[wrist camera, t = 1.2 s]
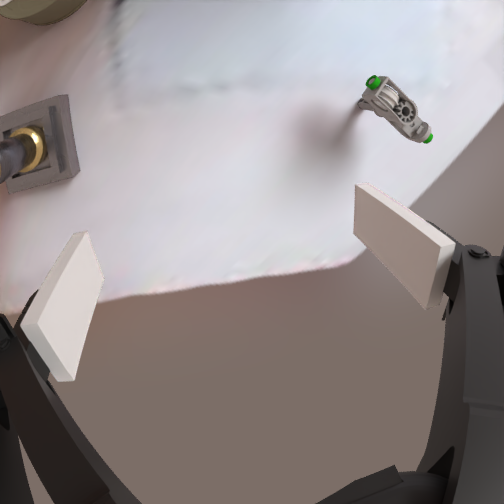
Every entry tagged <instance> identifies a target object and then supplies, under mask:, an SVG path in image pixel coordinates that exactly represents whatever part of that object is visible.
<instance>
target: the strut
mask: <svg viewBox="0 0 504 504" xmlns="http://www.w3.org/2000/svg"><path fill="white" fill-rule="evenodd" d="M46 154H47V145H46V139H45V134H44V132H43V131H42V130H41V129H40V128H38V127H36V126H26V127H23V128H20V129H18V130H16V131H14V132H13V133H12V134H11V135H10V137H9V138H8V139H5V140H3V141H0V184H1V183H2V182H4V181H5V180H7V179H8V178H10V177H11V176H13V175H14V174H16V173H18V172H28V171H30V170H32V169H33V168H35V167H37V166H38V165H40V164H41V163H42V162H43V160H44V159H45V157H46Z"/></svg>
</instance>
